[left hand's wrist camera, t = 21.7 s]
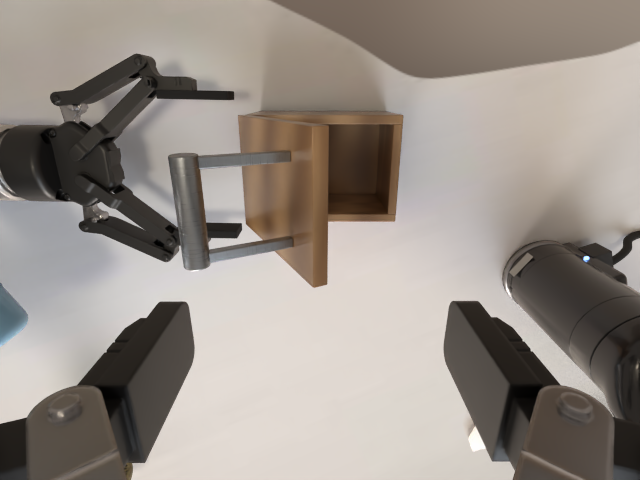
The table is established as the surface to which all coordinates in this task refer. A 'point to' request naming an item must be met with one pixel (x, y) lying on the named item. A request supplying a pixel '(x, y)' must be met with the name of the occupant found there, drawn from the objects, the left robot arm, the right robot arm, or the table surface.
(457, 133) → the table surface
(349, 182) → the chest
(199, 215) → the wooden door panel
